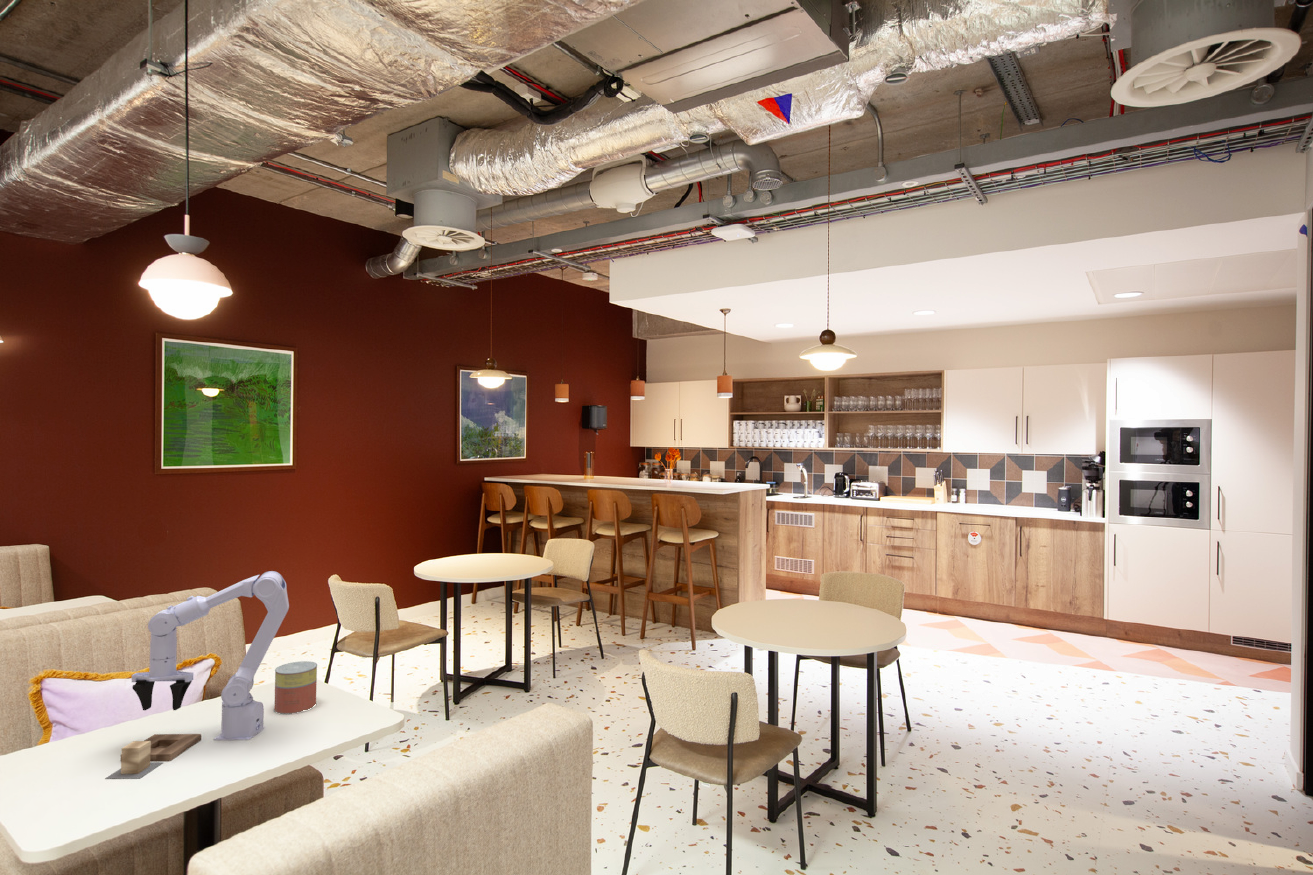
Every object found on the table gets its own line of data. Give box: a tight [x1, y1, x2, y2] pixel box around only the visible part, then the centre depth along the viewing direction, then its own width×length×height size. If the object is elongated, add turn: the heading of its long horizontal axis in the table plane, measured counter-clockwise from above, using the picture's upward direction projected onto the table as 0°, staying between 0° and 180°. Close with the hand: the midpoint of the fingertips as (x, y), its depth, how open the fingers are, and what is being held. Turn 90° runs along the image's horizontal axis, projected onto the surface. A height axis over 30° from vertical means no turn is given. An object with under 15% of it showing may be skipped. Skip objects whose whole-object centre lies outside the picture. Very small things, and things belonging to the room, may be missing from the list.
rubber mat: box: [104, 761, 165, 780], centre depth 161 cm, size 8×8×1 cm
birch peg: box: [120, 740, 151, 774], centre depth 162 cm, size 4×4×6 cm
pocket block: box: [143, 733, 202, 762], centre depth 172 cm, size 12×12×2 cm
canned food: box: [273, 660, 318, 715], centre depth 203 cm, size 11×11×12 cm
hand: (161, 708), depth 176 cm, fingers open, 7 cm apart
